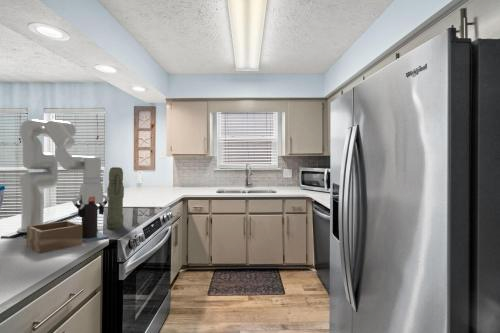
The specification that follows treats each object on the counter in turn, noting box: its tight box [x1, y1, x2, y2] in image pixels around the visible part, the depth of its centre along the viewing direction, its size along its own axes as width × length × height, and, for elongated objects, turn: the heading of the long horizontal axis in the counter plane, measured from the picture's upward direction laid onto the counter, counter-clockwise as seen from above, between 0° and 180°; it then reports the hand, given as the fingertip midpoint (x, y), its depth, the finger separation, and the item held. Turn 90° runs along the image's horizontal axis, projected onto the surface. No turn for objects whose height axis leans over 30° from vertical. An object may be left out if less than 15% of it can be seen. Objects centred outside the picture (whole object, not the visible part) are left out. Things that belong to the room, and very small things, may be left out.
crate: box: [26, 220, 83, 254], centre depth 126 cm, size 15×16×9 cm
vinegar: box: [81, 197, 99, 238], centre depth 138 cm, size 7×7×20 cm
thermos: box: [106, 166, 125, 230], centre depth 163 cm, size 9×12×35 cm
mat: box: [82, 232, 109, 243], centre depth 139 cm, size 12×10×1 cm
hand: (91, 215), depth 139 cm, fingers open, 9 cm apart
